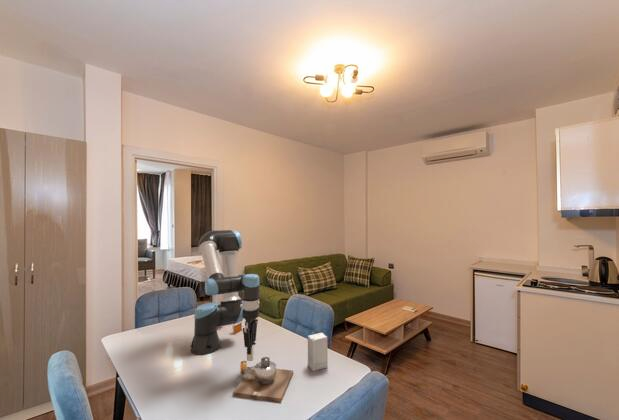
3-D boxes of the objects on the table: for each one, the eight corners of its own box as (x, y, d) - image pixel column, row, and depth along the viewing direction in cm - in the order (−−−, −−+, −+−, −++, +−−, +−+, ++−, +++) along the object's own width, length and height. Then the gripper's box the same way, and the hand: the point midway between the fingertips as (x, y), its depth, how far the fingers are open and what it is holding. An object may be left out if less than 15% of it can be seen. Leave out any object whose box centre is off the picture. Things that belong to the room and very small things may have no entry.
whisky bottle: (245, 329, 177) (212, 323, 191) (245, 319, 178) (212, 315, 191) (234, 334, 168) (200, 328, 182) (234, 325, 169) (200, 319, 182)
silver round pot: (278, 371, 122) (278, 355, 122) (272, 383, 113) (272, 365, 113) (244, 367, 125) (245, 351, 125) (236, 378, 116) (236, 361, 116)
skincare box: (322, 362, 137) (322, 331, 137) (328, 368, 131) (328, 336, 132) (306, 365, 133) (307, 334, 133) (312, 372, 128) (312, 339, 128)
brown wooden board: (231, 396, 110) (232, 388, 110) (251, 369, 130) (251, 362, 130) (280, 402, 106) (281, 394, 106) (293, 373, 126) (293, 366, 126)
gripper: (253, 313, 121) (252, 368, 120) (263, 304, 134) (262, 354, 133) (237, 312, 122) (236, 366, 121) (248, 303, 135) (248, 352, 134)
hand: (250, 360), depth 127 cm, fingers closed
